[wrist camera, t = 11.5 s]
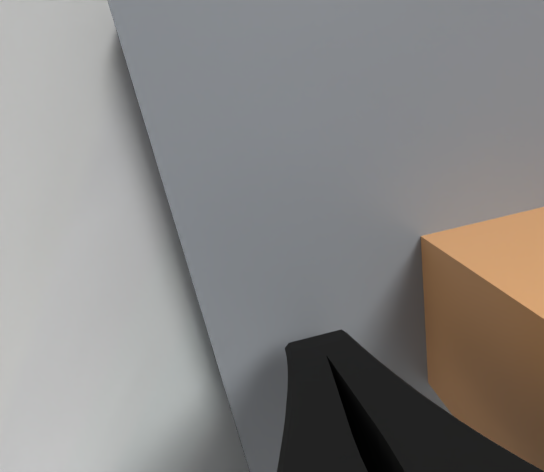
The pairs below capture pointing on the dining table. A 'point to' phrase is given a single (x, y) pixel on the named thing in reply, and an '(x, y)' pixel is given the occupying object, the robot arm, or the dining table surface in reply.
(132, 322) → the dining table surface
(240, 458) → the dining table surface
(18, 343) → the dining table surface
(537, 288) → the block
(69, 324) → the dining table surface
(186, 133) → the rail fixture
